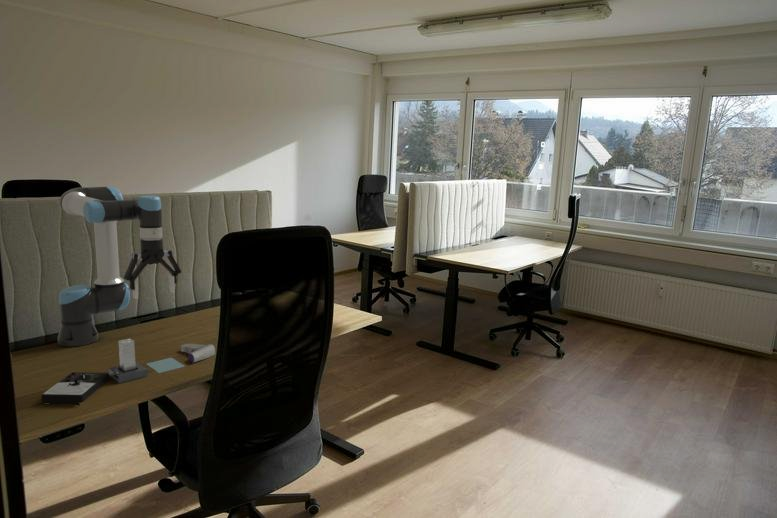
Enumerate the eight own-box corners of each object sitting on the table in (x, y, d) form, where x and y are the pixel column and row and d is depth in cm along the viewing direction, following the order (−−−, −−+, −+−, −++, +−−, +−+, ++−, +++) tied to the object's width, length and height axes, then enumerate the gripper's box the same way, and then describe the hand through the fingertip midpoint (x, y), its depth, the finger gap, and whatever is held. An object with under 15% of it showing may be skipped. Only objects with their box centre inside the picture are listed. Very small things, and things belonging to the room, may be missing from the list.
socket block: (109, 377, 202) (108, 368, 202) (137, 370, 209) (136, 361, 209) (119, 385, 195) (118, 376, 195) (148, 378, 202) (147, 369, 202)
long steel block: (120, 375, 202) (118, 340, 200) (131, 372, 205) (129, 338, 203) (124, 378, 199) (122, 343, 197) (136, 375, 202) (134, 341, 200)
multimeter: (110, 382, 200) (109, 368, 199) (82, 406, 181) (81, 391, 180) (72, 381, 199) (71, 368, 198) (41, 405, 180) (40, 391, 179)
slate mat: (145, 366, 213) (145, 363, 213) (171, 359, 220) (171, 357, 220) (159, 375, 205) (159, 373, 205) (185, 368, 212) (185, 366, 212)
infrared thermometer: (189, 351, 234) (217, 355, 228) (166, 360, 223) (195, 365, 217) (188, 340, 233) (216, 344, 227) (165, 349, 222) (194, 353, 216)
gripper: (119, 243, 193) (123, 302, 197) (189, 237, 210) (191, 292, 214) (111, 240, 198) (115, 298, 202) (180, 234, 215) (182, 288, 220)
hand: (154, 295), depth 208 cm, fingers open, 13 cm apart
